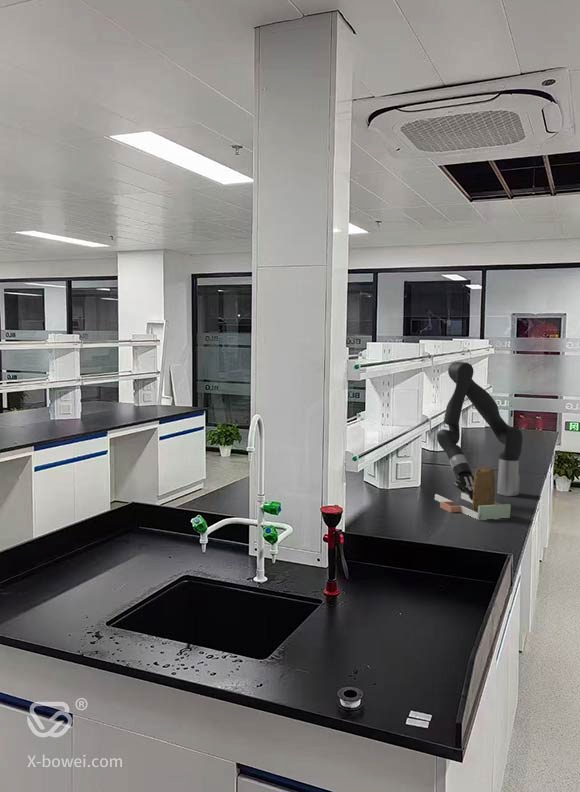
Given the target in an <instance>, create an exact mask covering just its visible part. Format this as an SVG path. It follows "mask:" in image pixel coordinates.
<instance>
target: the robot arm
mask: <svg viewBox="0 0 580 792" xmlns="http://www.w3.org/2000/svg"><path fill="white" fill-rule="evenodd" d="M447 370H448V371H447V373H448V376H449V378H450V380H452V381H453V382H454V383H455V388H454V391H453V393H452V396H451V397H450V399H449V401H448V402H447V405H446V409H445V412H444V418H443V423H444V424H445V425H447V426H448V428H449V429H440V430H439V431H437V433H436V439H437V442H438V444H439V446H440V447H441V449H442V450H443V451H444V452H445V454H446V456H447V458H448V460H449V464H450V467H451V470H452V471H453V474H454V477H455V478H456V480H455V482H454V483H453V485H454V486H455V487H456V488H457V489H458V490H460V491H461V493H465V494H466V493H467V495H469V497H470V499H471V500H473V486H474V478H475V475H473V472H472V468H471V466H470V464H469V462H468V460H467V458H466V457H465V454H464V452H463V450H462V447H460V446H459V445H458V443H459V441H460V438H461V436H460V434H461V433H460V420H461V415H462V410H463V405H464V401H465V399H466V397H467V399H468V400H469V402H470V403H471V404H472V405H473V408H475V410H476V411H477V412H478V413H479V414H480V416H481V417H482V418H483V420H484V421H485V422H486V424H488V426H489V427H490V429H491V430H492V432H493V434H494V435H495V437H496V439H497V440H498V441H499V442H500V443H501V444H503V445H504V450H503V451H501V452H499V455H498V469H497V471H498V475H497V492H496V493H497V494H498V495H500V496H506V497H514V496H518V495H519V494H520V482H521V481H520V480H521V479H520V477H521V476H520V475H519V465H520V463H519V461H520V457H521V454H522V449H523V448H522V446H523V433H522V430H521V429H519V428H518V427H514V426H511V425H509V424H507V422H505V420H504V419H503V418H502V417H501V414H500V409H499V406H498V404H497V402H496V401H495V399H493V397H492V395H491V394H490V393H489V392H488V391H487V390H486V389H484V388H483V387H482V386H480V385H479V384H478V383H477V382H475V380H473V376H474V368H473V366H472V365H471V363H469V362H464V361H463V362H462V361H454V362H452V363H450V365H448V369H447Z"/></svg>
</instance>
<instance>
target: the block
mask: <svg viewBox="0 0 580 792" xmlns="http://www.w3.org/2000/svg"><path fill="white" fill-rule="evenodd" d="M473 484H474V486H473V503H472V510H473V511H475V512H477V513H478V506H482V505H494V501H495V497H496V496H495V495H496V493H495V492H496V477H495V469H494V467H491V466H480V467H478V468H476V469H475V472H474V482H473Z"/></svg>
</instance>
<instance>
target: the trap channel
mask: <svg viewBox="0 0 580 792" xmlns="http://www.w3.org/2000/svg"><path fill="white" fill-rule="evenodd" d="M460 494H461V495H460V498H461V499H462V500H464V501H467V502H469V503H471V504H473V500H471V499H470V497H469V495H468V493H467V494H466V492H465V493H464V492H461V493H460ZM434 500H435V501H437V502H439V508H440V509H443V510H445V511H446V512H448V513H463V514H464V515H466V516H468V515H469V517H470V516H471V518H473V519H475V518H476V519H475V520H477V519H478V520H477V521H488V520H487V519H494V520H500V519H499V518H511V508H512V507H511V503H499V502H496V501H495V500H494V505H482V506H478V513H477V512H475V511H473V509H471V508H468V507H466V506H463V505H454V501H453V500H451V499H448V498H446V497H444V496H442V495H439V494H437V493H435V494H434Z"/></svg>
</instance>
